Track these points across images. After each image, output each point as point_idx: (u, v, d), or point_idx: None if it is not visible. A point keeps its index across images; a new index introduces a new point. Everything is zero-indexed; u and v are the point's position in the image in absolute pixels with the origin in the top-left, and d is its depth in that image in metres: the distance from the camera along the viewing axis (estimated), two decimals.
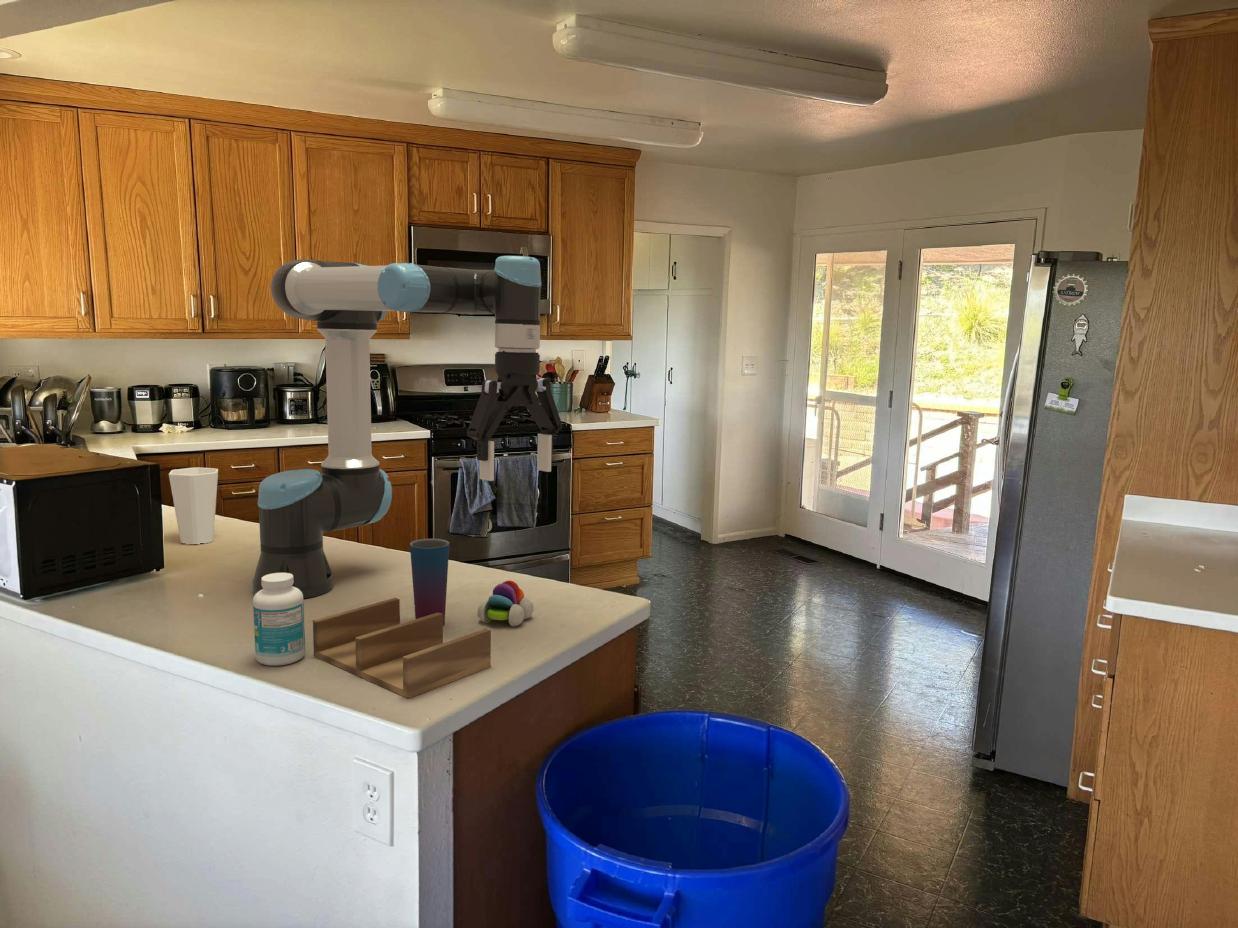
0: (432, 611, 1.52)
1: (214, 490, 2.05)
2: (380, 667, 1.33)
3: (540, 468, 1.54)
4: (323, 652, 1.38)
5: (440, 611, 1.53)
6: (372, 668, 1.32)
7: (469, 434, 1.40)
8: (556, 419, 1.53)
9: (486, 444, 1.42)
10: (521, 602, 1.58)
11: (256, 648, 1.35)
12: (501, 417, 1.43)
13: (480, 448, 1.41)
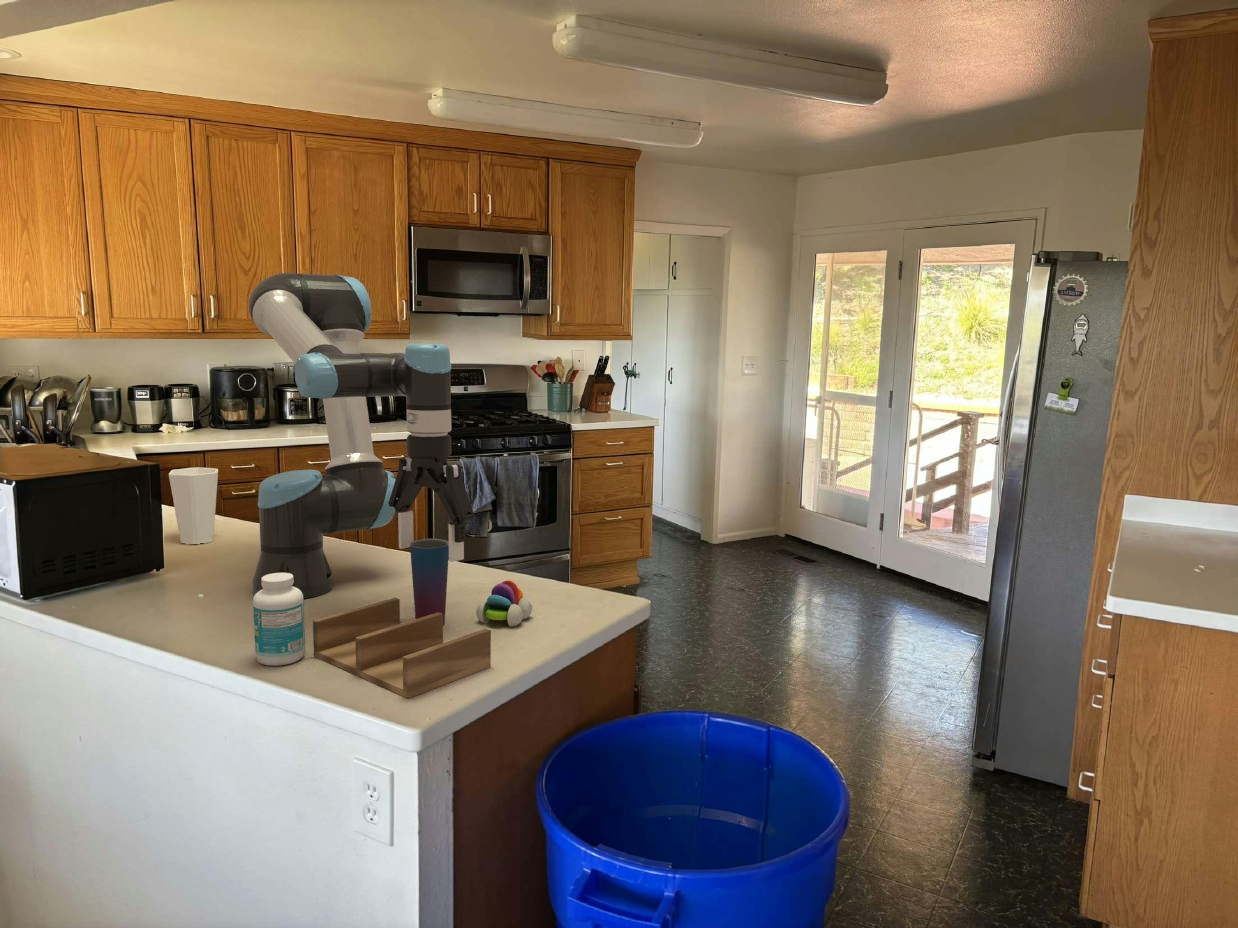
0: (432, 611, 1.52)
1: (214, 490, 2.05)
2: (380, 667, 1.33)
3: None
4: (323, 652, 1.38)
5: (440, 611, 1.53)
6: (372, 668, 1.32)
7: None
8: (457, 510, 1.45)
9: None
10: (520, 602, 1.58)
11: (256, 648, 1.35)
12: (407, 493, 1.53)
13: None
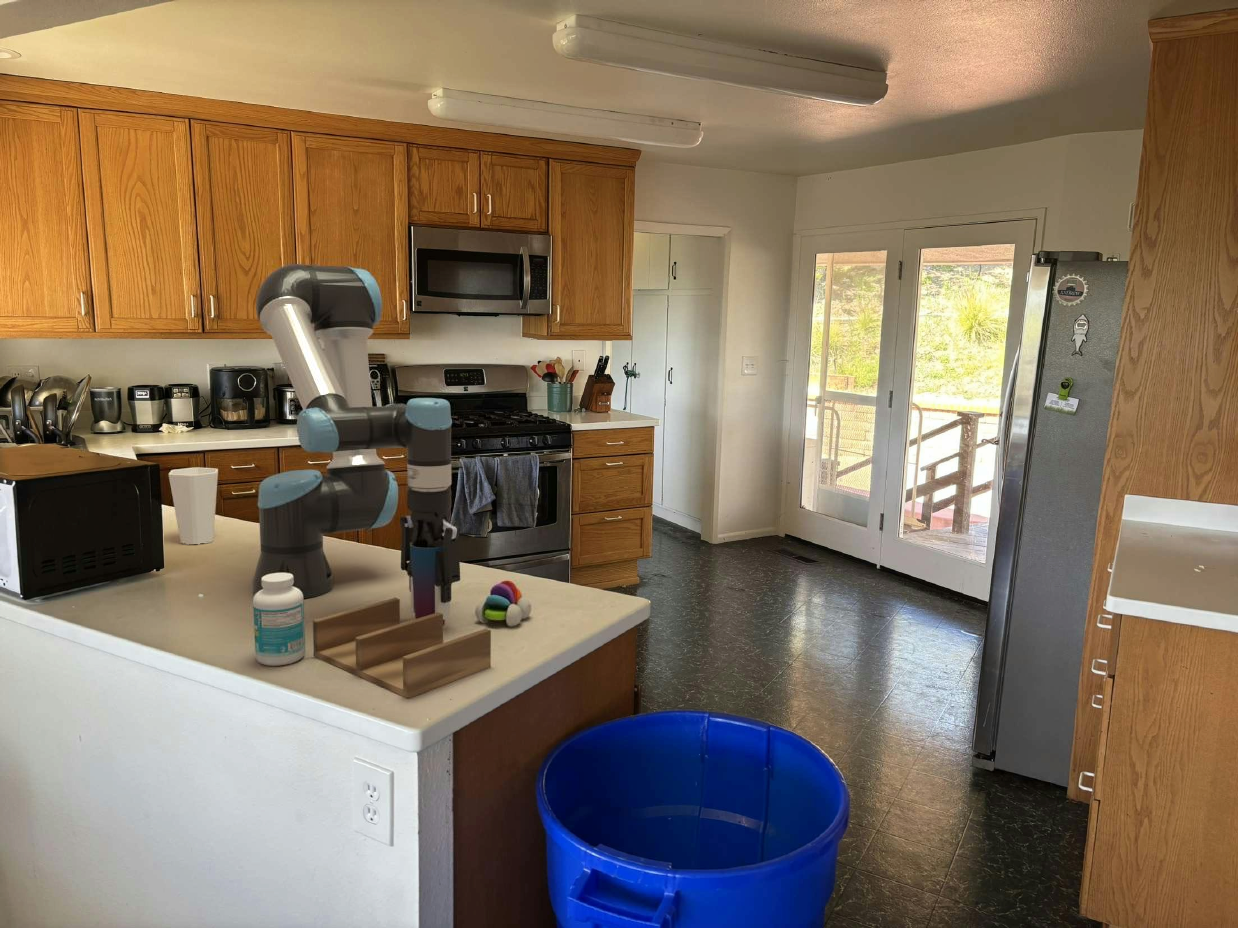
0: (432, 611, 1.52)
1: (214, 490, 2.05)
2: (380, 667, 1.33)
3: None
4: (323, 652, 1.38)
5: None
6: (372, 668, 1.32)
7: None
8: (445, 571, 1.49)
9: (411, 578, 1.55)
10: (519, 602, 1.58)
11: (256, 648, 1.35)
12: None
13: (411, 580, 1.56)
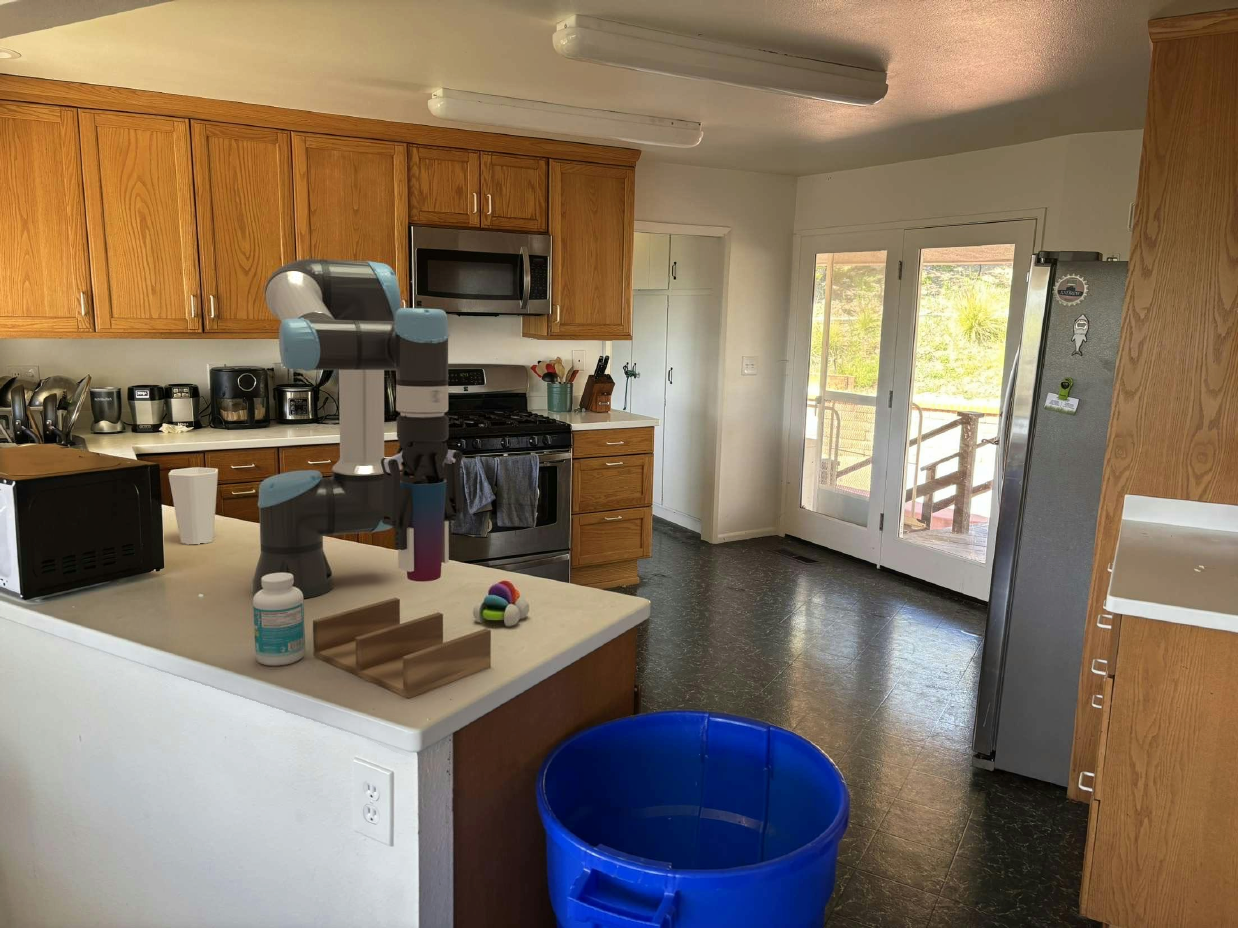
0: None
1: (214, 490, 2.05)
2: (380, 667, 1.33)
3: None
4: (323, 652, 1.38)
5: None
6: (372, 668, 1.32)
7: (384, 521, 1.26)
8: (457, 500, 1.34)
9: (404, 531, 1.27)
10: (517, 602, 1.58)
11: (256, 648, 1.35)
12: None
13: (398, 536, 1.27)
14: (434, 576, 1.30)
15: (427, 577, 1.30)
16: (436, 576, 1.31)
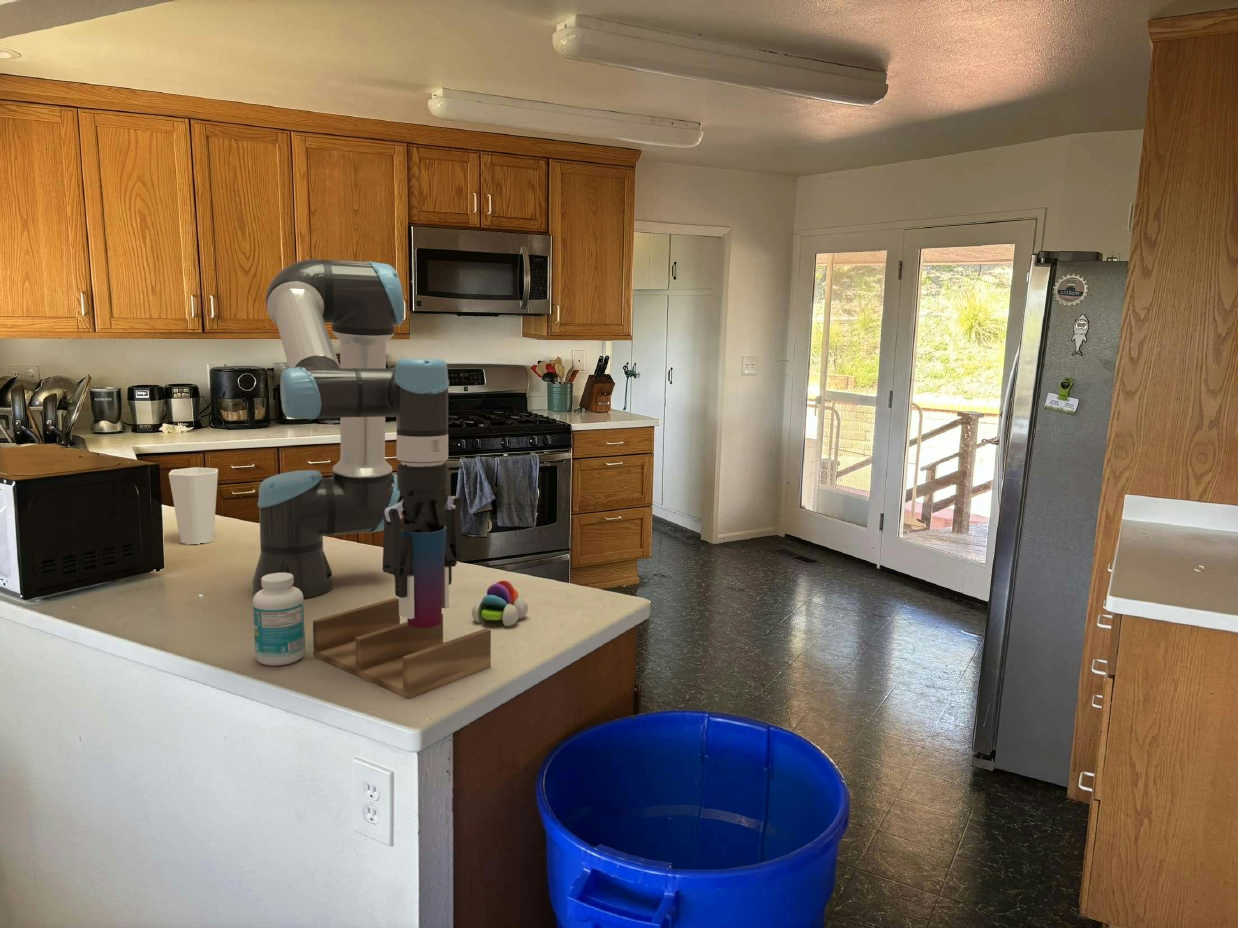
0: None
1: (214, 490, 2.05)
2: (380, 667, 1.33)
3: None
4: (323, 652, 1.38)
5: None
6: (372, 668, 1.32)
7: (385, 570, 1.27)
8: (457, 546, 1.35)
9: (405, 579, 1.28)
10: (515, 602, 1.58)
11: (256, 648, 1.35)
12: None
13: (398, 584, 1.28)
14: (434, 622, 1.31)
15: (427, 624, 1.31)
16: (436, 622, 1.32)
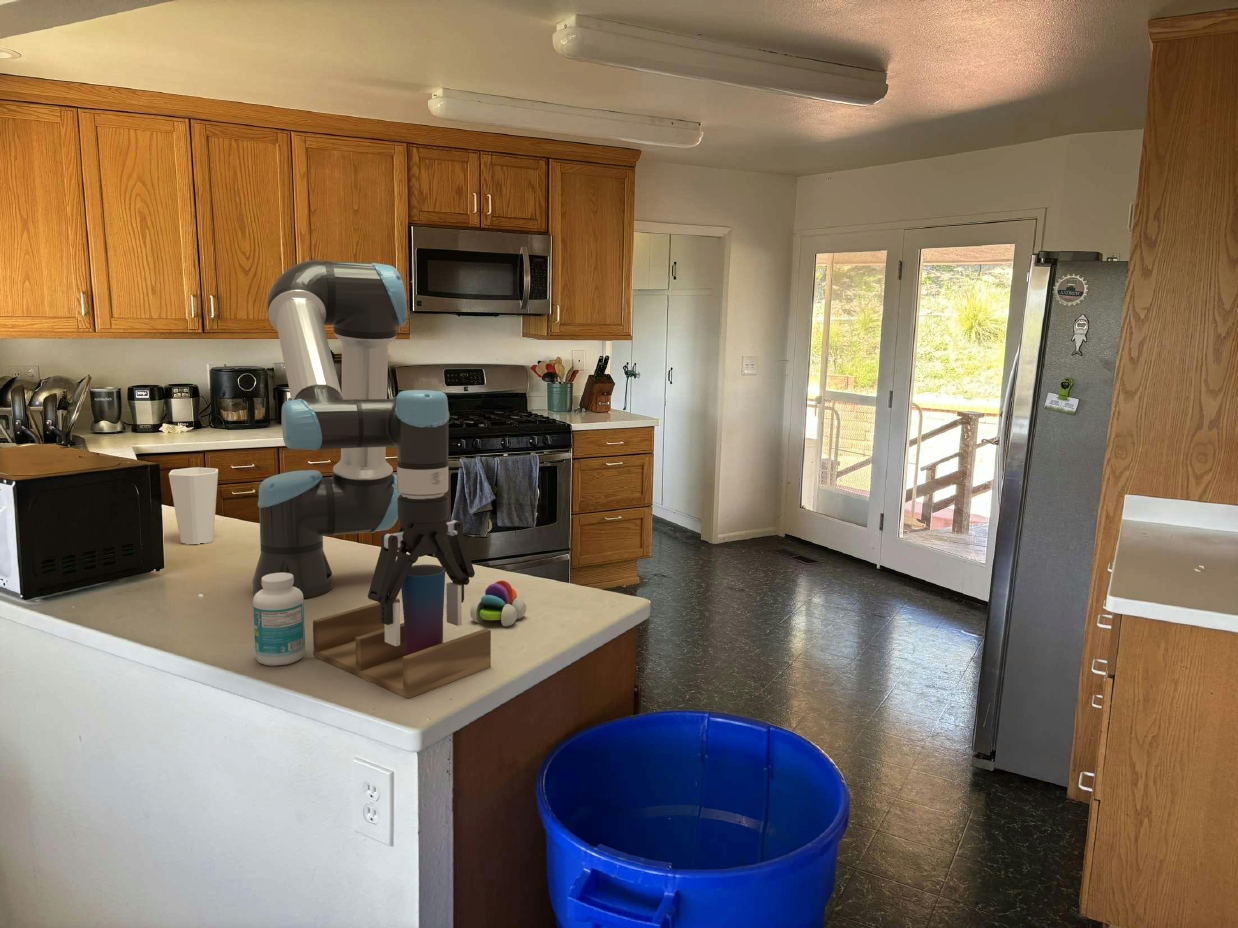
0: None
1: (214, 490, 2.05)
2: (380, 667, 1.33)
3: (449, 621, 1.38)
4: (323, 652, 1.38)
5: None
6: (372, 668, 1.32)
7: (370, 597, 1.25)
8: (467, 566, 1.37)
9: (390, 606, 1.27)
10: (514, 602, 1.58)
11: (256, 648, 1.35)
12: (406, 573, 1.28)
13: (384, 611, 1.27)
14: None
15: None
16: None
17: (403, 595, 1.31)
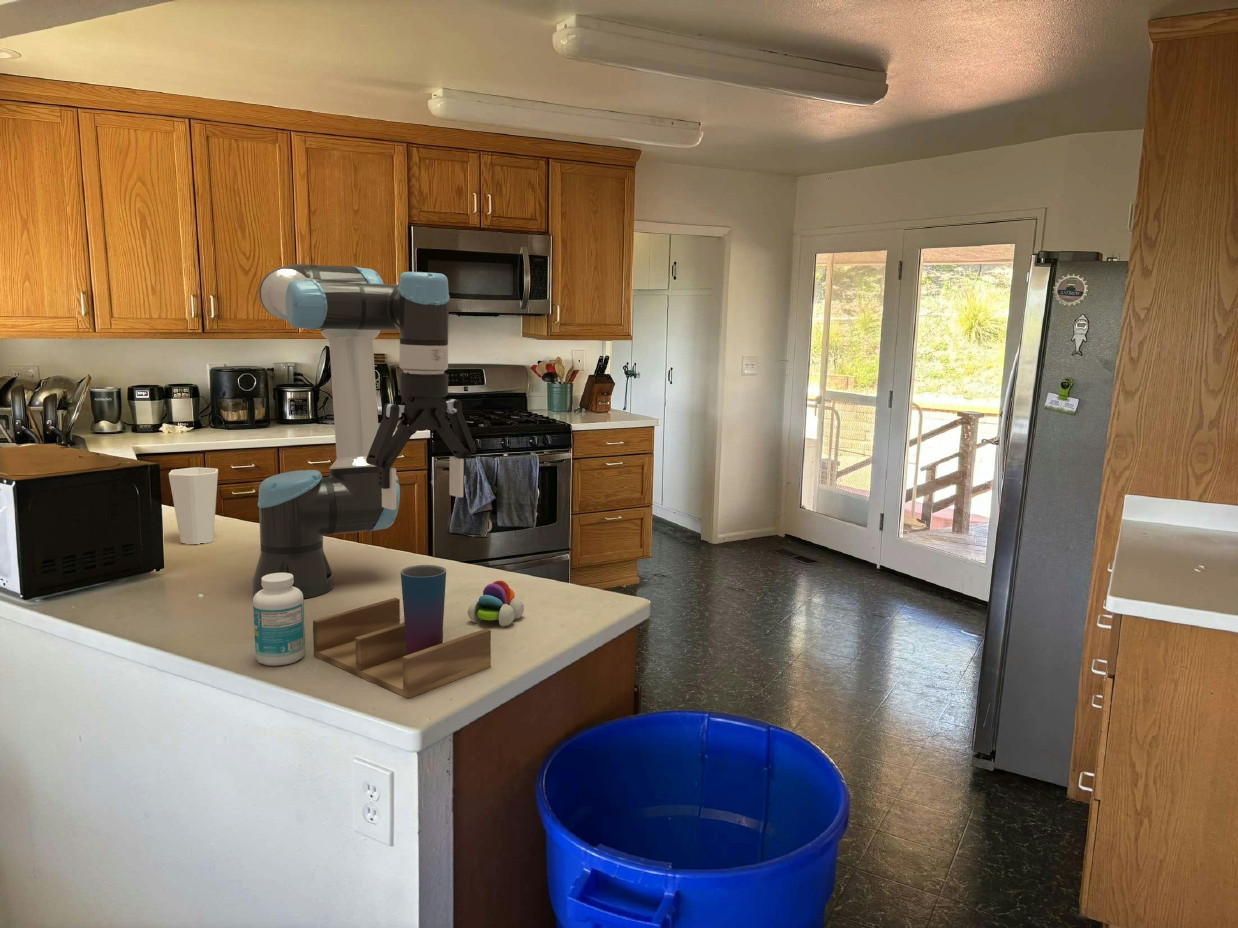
0: None
1: (214, 490, 2.05)
2: (380, 667, 1.33)
3: (452, 493, 1.47)
4: (323, 652, 1.38)
5: None
6: (372, 668, 1.32)
7: (368, 461, 1.33)
8: (469, 442, 1.45)
9: (387, 471, 1.34)
10: (511, 602, 1.58)
11: (256, 648, 1.35)
12: (404, 442, 1.35)
13: (381, 475, 1.34)
14: None
15: None
16: None
17: (404, 596, 1.31)
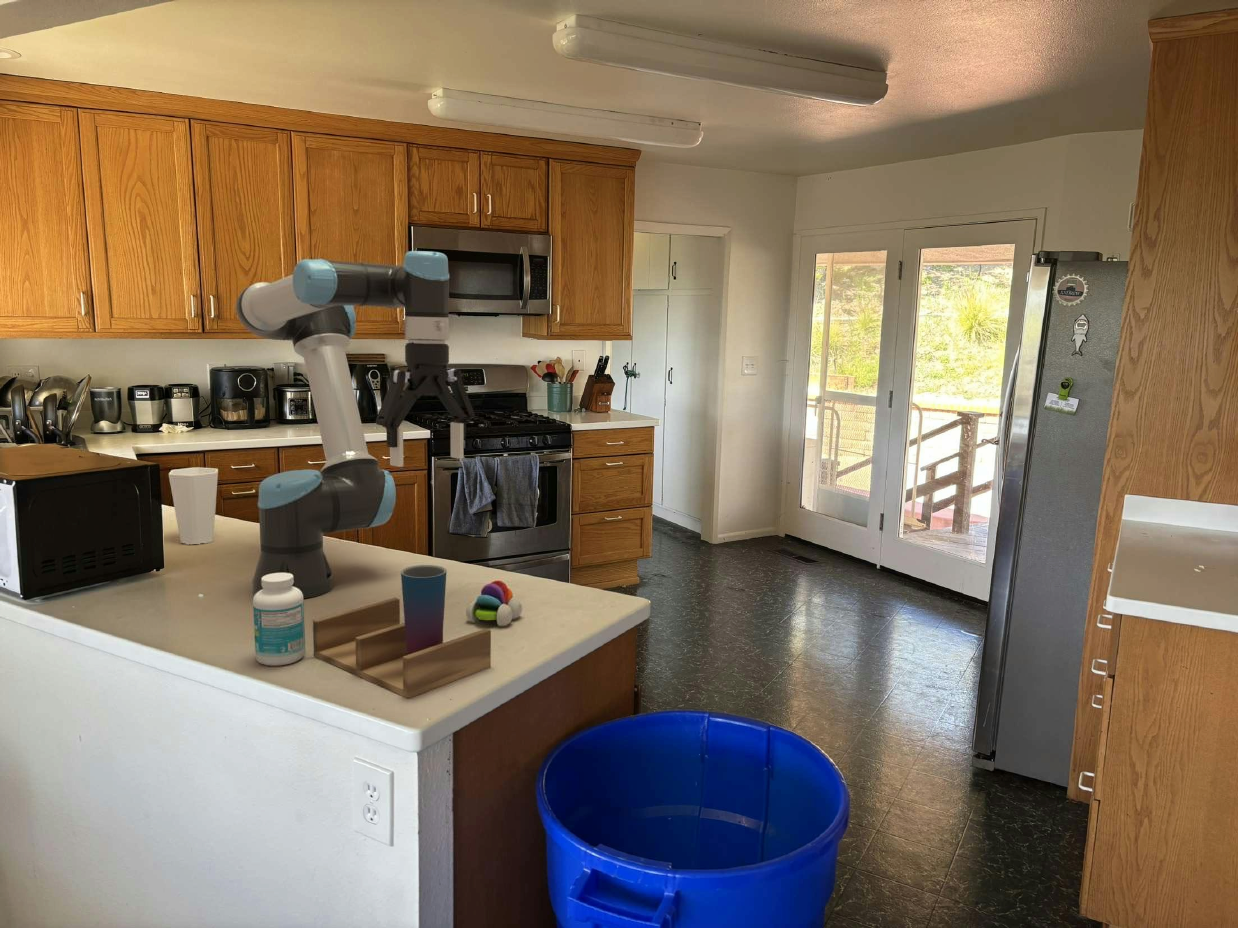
0: None
1: (214, 490, 2.05)
2: (380, 667, 1.33)
3: (453, 455, 1.60)
4: (323, 652, 1.38)
5: None
6: (372, 668, 1.32)
7: (378, 422, 1.46)
8: (468, 408, 1.59)
9: (395, 431, 1.48)
10: (509, 602, 1.58)
11: (256, 648, 1.35)
12: (410, 406, 1.49)
13: (389, 435, 1.48)
14: None
15: None
16: None
17: (404, 596, 1.31)
